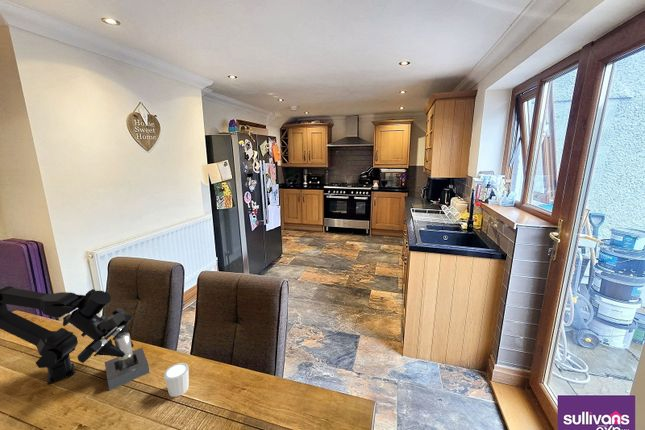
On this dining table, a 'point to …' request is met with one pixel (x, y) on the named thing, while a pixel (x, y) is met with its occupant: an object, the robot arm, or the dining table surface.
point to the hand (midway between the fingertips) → (128, 351)
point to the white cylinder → (177, 379)
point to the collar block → (126, 370)
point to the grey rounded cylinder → (124, 350)
